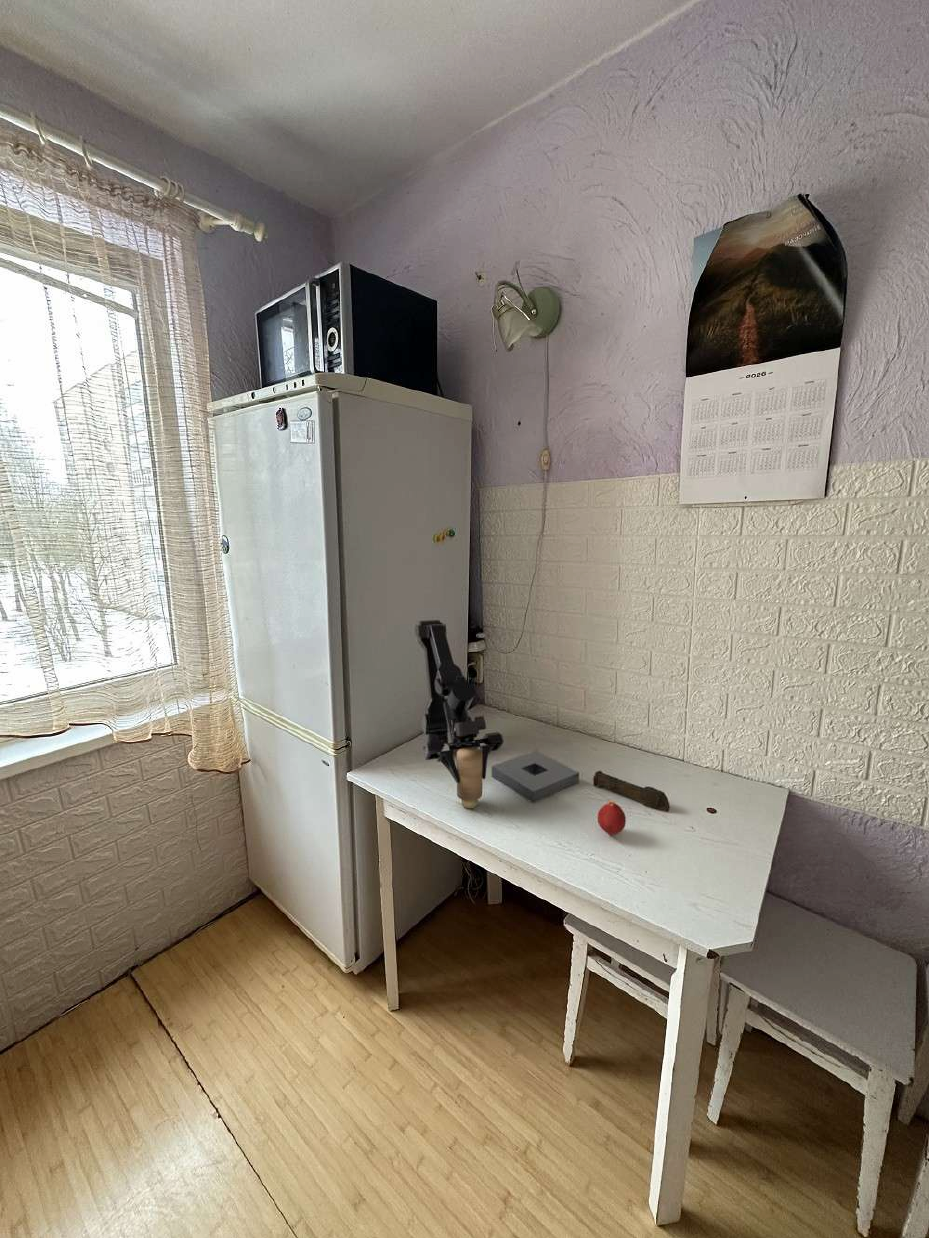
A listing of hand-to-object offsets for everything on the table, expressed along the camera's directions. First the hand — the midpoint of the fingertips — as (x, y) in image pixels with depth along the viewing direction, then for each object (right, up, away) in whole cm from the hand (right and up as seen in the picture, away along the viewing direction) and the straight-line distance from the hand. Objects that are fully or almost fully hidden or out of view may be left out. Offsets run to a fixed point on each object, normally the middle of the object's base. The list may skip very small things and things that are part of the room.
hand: (471, 780), depth 117 cm
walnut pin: (0, -6, +3) cm, 7 cm away
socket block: (+17, -4, +15) cm, 23 cm away
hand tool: (+39, -6, +6) cm, 40 cm away
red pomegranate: (+30, -9, -9) cm, 32 cm away
